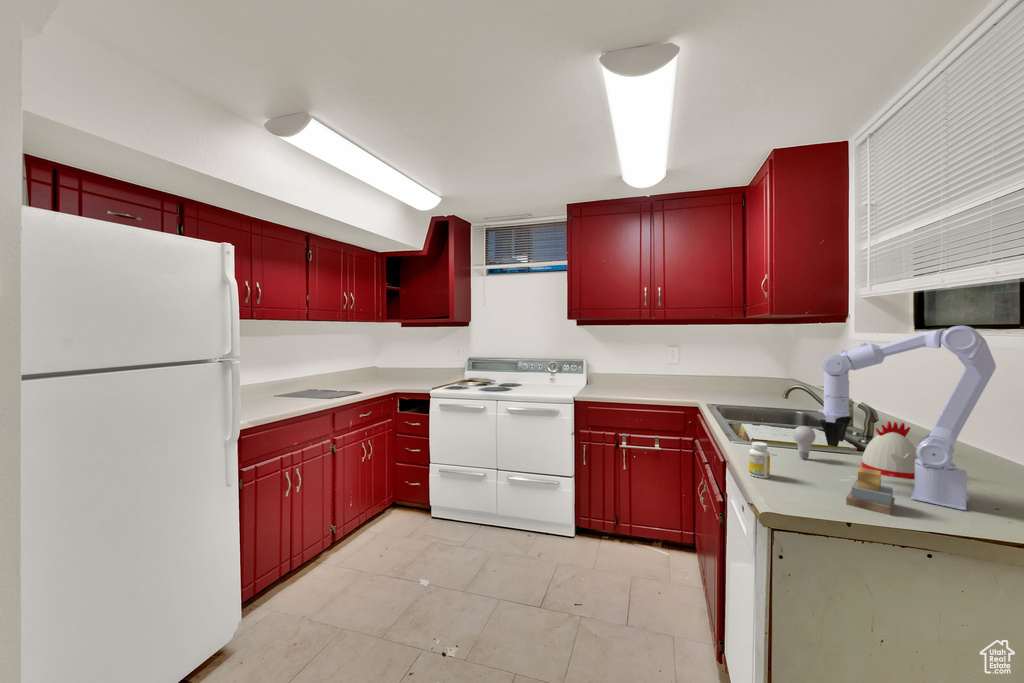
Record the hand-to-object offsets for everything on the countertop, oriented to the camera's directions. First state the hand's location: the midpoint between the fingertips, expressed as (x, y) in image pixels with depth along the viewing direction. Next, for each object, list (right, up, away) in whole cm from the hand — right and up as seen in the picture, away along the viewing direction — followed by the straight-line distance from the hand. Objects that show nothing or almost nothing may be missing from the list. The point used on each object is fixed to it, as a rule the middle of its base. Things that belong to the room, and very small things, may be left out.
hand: (835, 443), depth 120 cm
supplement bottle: (-20, -11, +4) cm, 23 cm away
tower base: (-5, -12, -17) cm, 21 cm away
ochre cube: (-5, -7, -17) cm, 19 cm away
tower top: (-4, -9, -17) cm, 20 cm away
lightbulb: (+4, -10, +19) cm, 21 cm away
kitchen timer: (+22, -10, +7) cm, 26 cm away
